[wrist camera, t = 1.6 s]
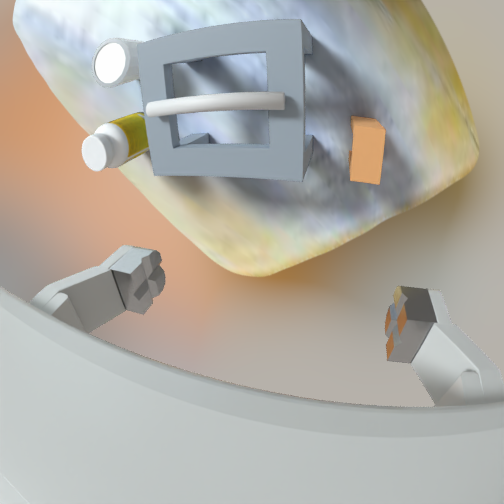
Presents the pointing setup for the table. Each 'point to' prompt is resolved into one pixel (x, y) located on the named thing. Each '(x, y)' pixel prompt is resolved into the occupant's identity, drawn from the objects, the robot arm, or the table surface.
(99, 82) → the shot glass
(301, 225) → the table surface
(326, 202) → the table surface
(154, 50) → the square frame with slider
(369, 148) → the tall tan box
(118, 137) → the pill bottle
